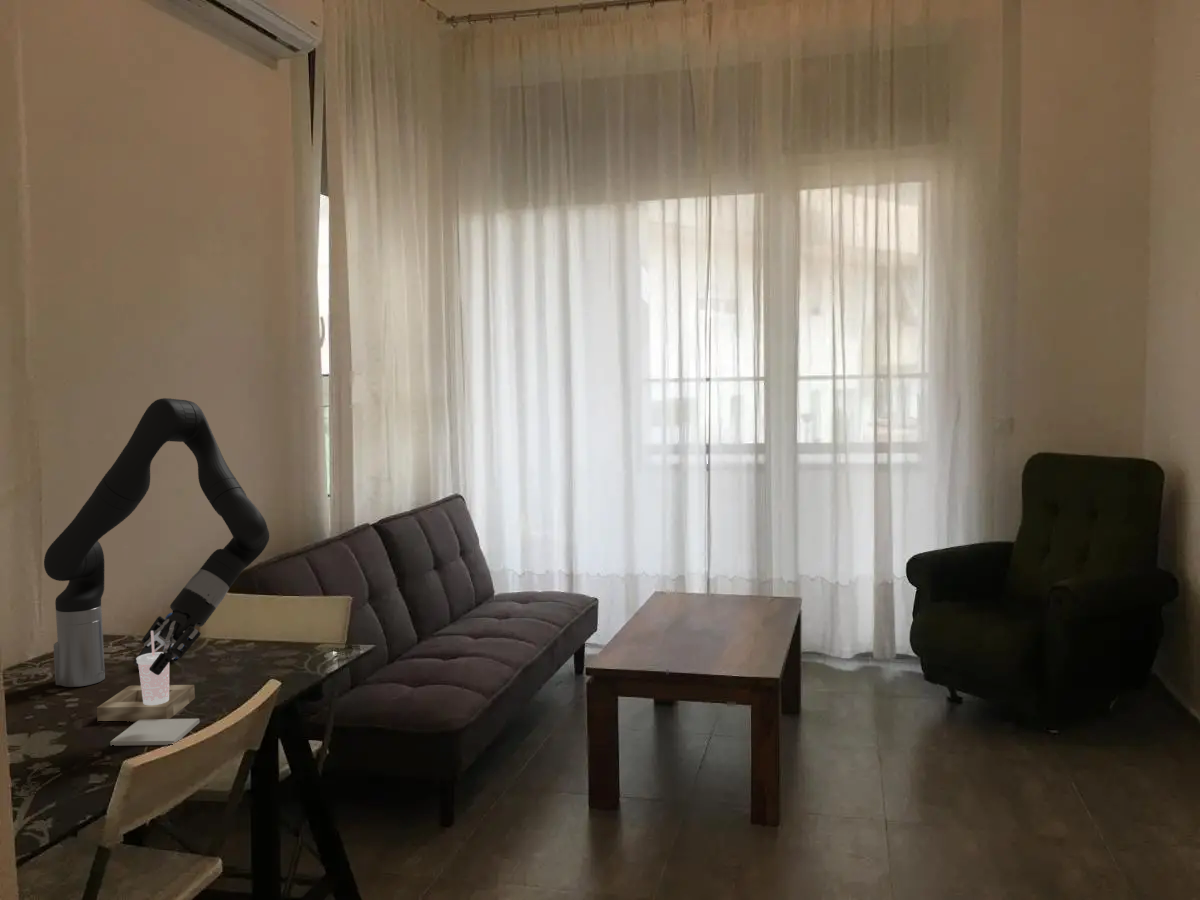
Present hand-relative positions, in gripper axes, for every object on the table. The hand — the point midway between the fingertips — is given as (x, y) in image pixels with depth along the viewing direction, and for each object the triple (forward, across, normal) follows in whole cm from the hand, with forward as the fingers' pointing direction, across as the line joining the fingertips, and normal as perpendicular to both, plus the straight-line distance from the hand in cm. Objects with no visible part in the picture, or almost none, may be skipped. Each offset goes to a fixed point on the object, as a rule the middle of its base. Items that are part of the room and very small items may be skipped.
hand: (145, 669), depth 191 cm
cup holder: (+4, -15, +14) cm, 21 cm away
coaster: (+8, 0, +10) cm, 13 cm away
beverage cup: (+4, 0, +6) cm, 7 cm away
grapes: (-11, -46, +30) cm, 56 cm away
